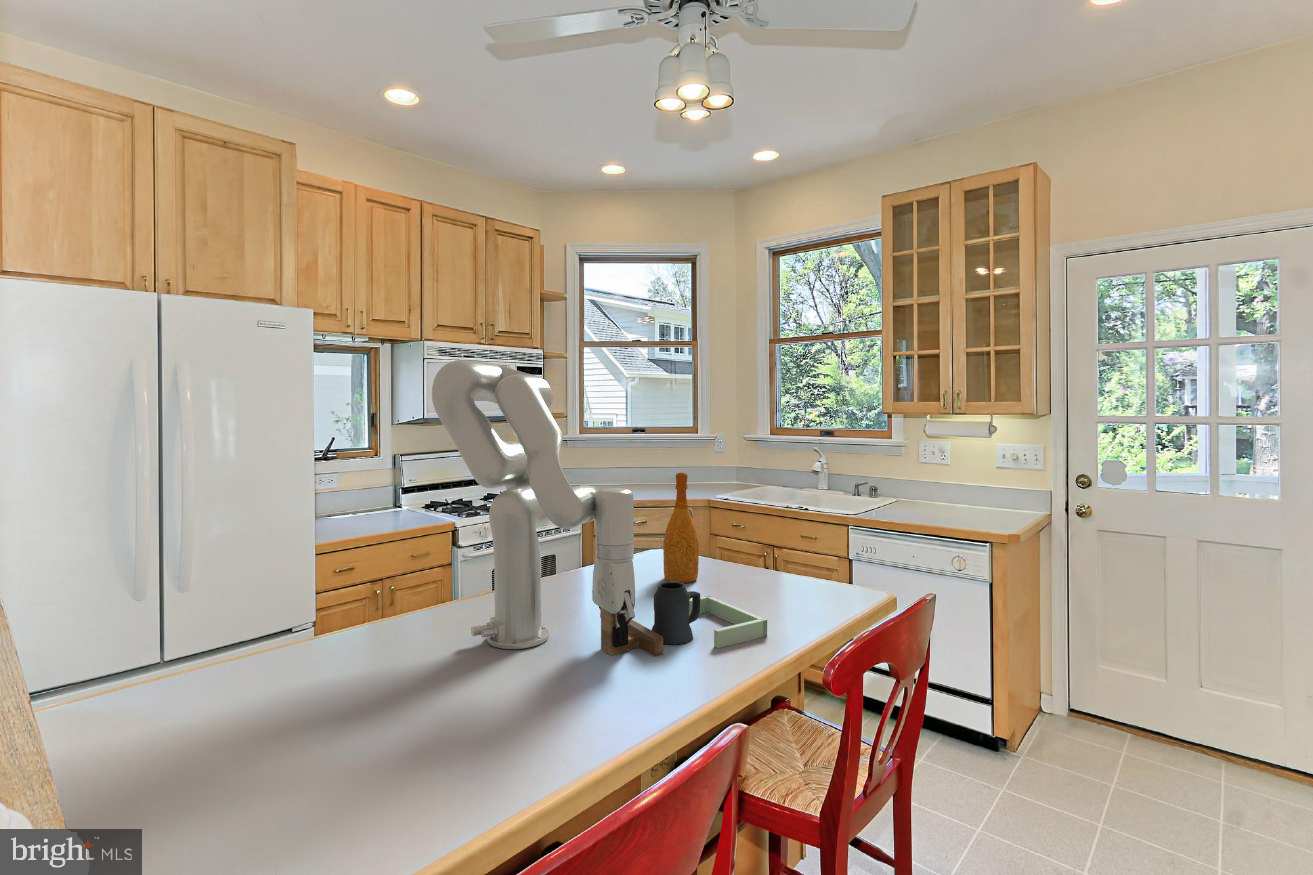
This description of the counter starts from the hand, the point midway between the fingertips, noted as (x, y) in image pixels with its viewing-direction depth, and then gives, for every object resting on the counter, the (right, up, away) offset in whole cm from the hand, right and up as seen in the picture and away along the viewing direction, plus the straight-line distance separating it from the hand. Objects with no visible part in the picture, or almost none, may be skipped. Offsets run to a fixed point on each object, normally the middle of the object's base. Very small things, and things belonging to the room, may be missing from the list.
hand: (614, 641), depth 130 cm
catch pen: (+20, -1, +13) cm, 24 cm away
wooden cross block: (+2, -2, +1) cm, 3 cm away
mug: (+13, -2, +8) cm, 15 cm away
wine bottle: (+15, +1, +52) cm, 55 cm away
